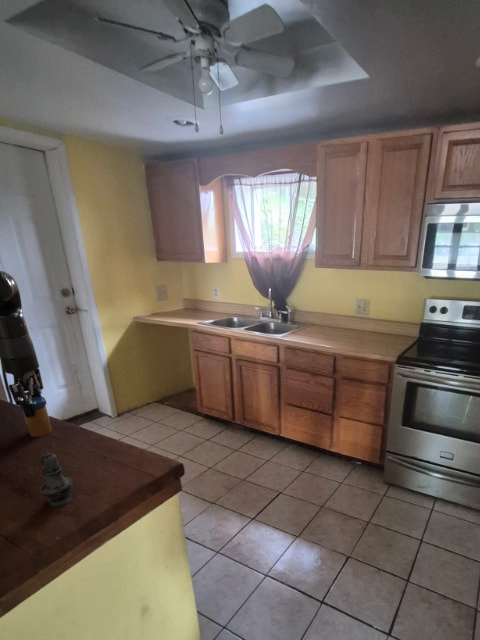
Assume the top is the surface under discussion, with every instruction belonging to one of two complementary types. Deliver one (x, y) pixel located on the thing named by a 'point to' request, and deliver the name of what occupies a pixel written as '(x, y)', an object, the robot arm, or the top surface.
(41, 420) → the jar
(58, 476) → the grey metal fitting
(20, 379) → the robot arm
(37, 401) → the lid
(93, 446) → the top surface
